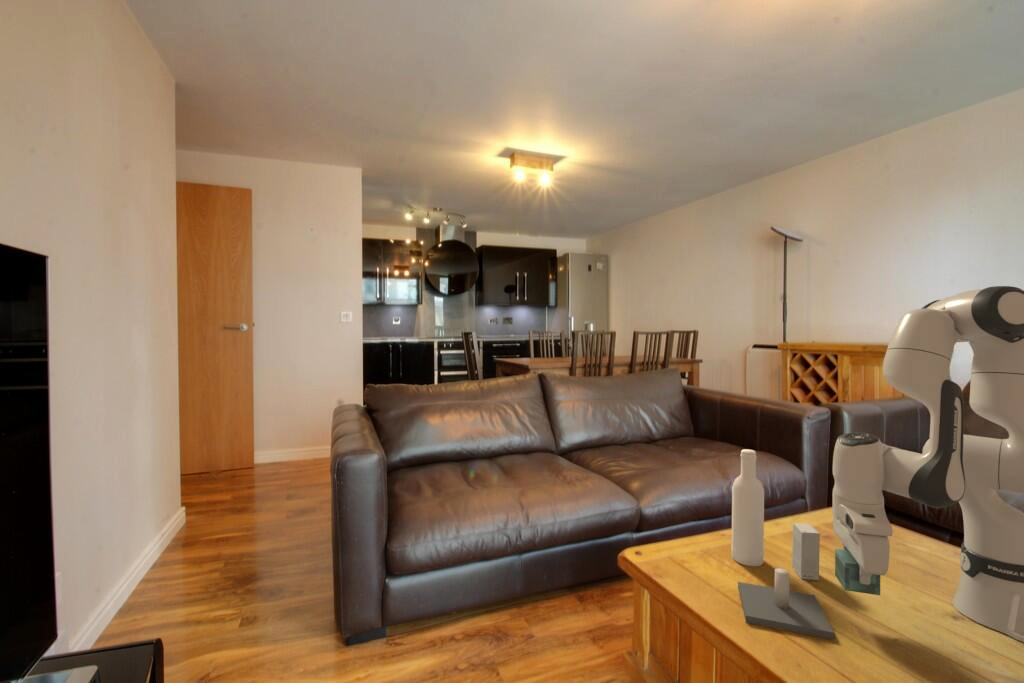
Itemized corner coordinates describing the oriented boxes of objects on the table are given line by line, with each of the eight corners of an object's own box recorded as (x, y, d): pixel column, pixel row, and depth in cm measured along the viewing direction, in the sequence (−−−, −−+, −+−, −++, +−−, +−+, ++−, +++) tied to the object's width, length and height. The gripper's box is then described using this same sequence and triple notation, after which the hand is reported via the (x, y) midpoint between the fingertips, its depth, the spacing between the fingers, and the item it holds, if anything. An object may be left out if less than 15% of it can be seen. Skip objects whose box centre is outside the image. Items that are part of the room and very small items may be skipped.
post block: (814, 601, 106) (815, 562, 106) (833, 639, 93) (834, 596, 92) (738, 587, 111) (738, 551, 111) (745, 622, 98) (746, 581, 98)
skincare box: (819, 581, 114) (820, 533, 114) (800, 579, 115) (801, 532, 115) (809, 568, 120) (809, 523, 120) (791, 566, 121) (792, 522, 121)
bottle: (724, 556, 127) (725, 448, 126) (743, 550, 130) (744, 445, 129) (751, 569, 120) (752, 456, 119) (770, 562, 123) (771, 452, 122)
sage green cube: (868, 579, 101) (868, 552, 100) (880, 595, 95) (880, 567, 95) (835, 574, 103) (835, 548, 102) (844, 590, 97) (844, 562, 97)
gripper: (825, 491, 109) (824, 548, 109) (857, 528, 90) (857, 597, 90) (856, 493, 107) (856, 551, 107) (897, 532, 88) (896, 602, 88)
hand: (857, 572), depth 99 cm, fingers closed on sage green cube, 6 cm apart
